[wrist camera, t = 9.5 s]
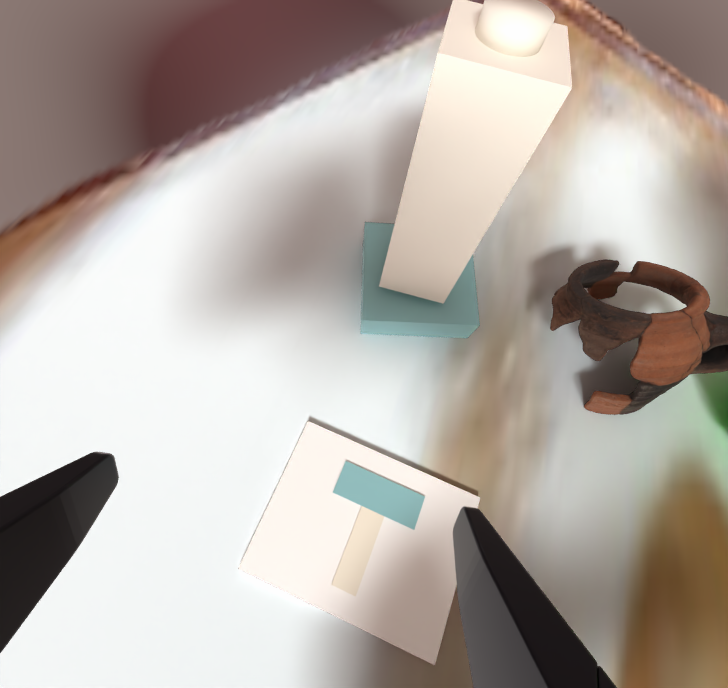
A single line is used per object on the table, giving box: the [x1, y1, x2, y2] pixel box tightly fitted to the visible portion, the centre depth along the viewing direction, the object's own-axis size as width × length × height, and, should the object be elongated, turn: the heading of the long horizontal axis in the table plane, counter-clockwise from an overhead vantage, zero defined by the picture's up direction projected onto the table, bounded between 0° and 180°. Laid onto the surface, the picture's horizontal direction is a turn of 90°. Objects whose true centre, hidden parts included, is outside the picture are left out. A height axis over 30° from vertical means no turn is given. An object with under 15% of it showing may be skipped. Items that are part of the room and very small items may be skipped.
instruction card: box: [238, 421, 480, 665], centre depth 20 cm, size 12×9×1 cm
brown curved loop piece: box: [550, 260, 728, 415], centre depth 23 cm, size 12×10×8 cm
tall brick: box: [379, 0, 572, 303], centre depth 17 cm, size 4×4×14 cm
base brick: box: [361, 222, 480, 338], centre depth 25 cm, size 8×8×3 cm
